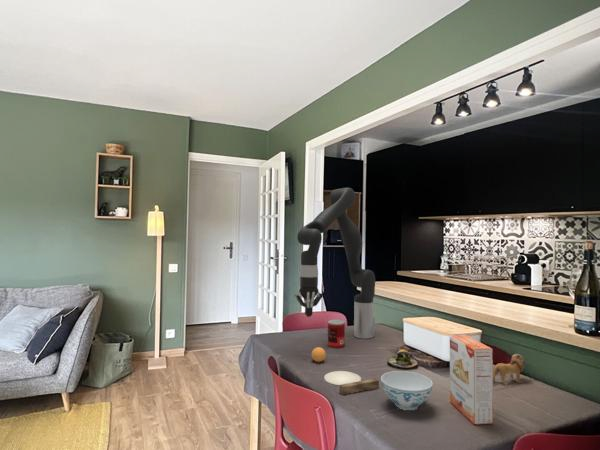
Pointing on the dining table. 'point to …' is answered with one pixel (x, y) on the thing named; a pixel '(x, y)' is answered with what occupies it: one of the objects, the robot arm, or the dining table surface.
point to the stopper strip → (358, 386)
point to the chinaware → (406, 388)
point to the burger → (402, 360)
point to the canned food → (336, 333)
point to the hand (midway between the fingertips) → (308, 316)
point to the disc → (341, 377)
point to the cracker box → (471, 378)
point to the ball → (318, 354)
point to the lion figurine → (510, 368)
